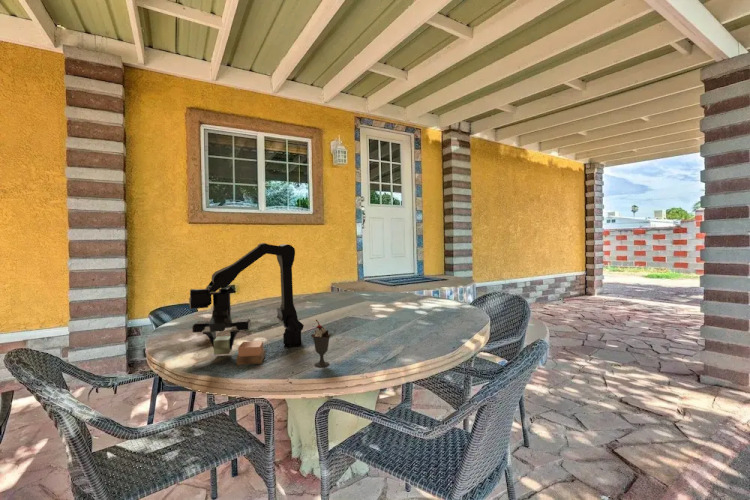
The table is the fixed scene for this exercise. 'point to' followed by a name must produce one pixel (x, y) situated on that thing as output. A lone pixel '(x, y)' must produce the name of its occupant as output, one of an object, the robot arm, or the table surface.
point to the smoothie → (208, 317)
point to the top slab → (250, 348)
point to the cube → (222, 345)
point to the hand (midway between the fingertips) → (223, 349)
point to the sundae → (321, 344)
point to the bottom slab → (251, 359)
